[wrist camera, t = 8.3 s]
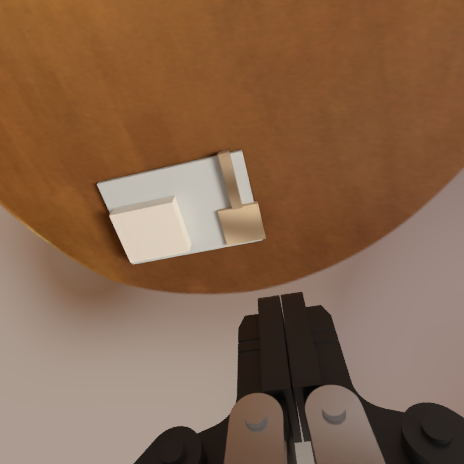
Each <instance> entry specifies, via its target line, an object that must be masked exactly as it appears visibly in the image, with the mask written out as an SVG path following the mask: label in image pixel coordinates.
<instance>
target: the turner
mask: <svg viewBox="0 0 464 464" xmlns="http://www.w3.org/2000/svg"><path fill="white" fill-rule="evenodd" d="M218 157H219V161H220V165H221V168H222V172H223V176H224V180H225V184H226V187H227V191H228V195H229V199H230V202H231V206H232V207H228V208H223V209H218V215H219V218H220V222H221V225H222V229H223V232H224V236H225V239H226V242H227V246H229V245H234V244H239V243H245V242H250V241H255V240H261V239H266V238H265V232H264V228H263V223H262V219H261V215H260V210H259V206H258V201H257V202H252V203H247V204H242V201H241V197H240V193H239V189H238V185H237V181H236V177H235V173H234V169H233V165H232V161H231V157H230V153H229V150H225V151H220V152H218Z"/></svg>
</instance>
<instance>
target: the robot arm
mask: <svg viewBox="0 0 464 464" xmlns="http://www.w3.org/2000/svg"><path fill="white" fill-rule="evenodd" d="M281 299H282V307H283V313H282V307H281V302H280V297H279V295H278V296H272V297H264V298H258V311H259V314H255V315H248V316H245V317H244V319H243V320H242V323H241V324H240V326H239V331H238V333H239V334H238V342H239V344H238V379H237V380H238V381H237V400H236V404H235V405H234V407H233V408H232V410H231V413H230V414H229V415H228V417H227V418H226V419H224V420H223V421H222V422H221V423H219V424H217V425H216V426H213V427H211V428H209V429H207V430H204V431H202V432H200V433H198V434H197V433H196V432H195V431H193V430H192V429H191V428H188V427H184V426H177V427H173V428H170V429H168V430H166V431H165V432H163V433H162V434H160V435H159V436H158V437H157V438H156V439H155V440H154V442H153V443H152V444H151V445H150V446H149V447H148V448H147V449H146V451H145V452H144V453H143V454H142V455H141V456H140V457H139V458H138V459H137V461H136V462H135V463H134V464H297V461H296V453H295V445H294V443H297V442H302V439H301V432H300V425H299V418H298V412H299V417H300V422H301V427H302V432H303V437H304V442H305V441H311V446H312V451H313V456H314V462H315V464H464V418H463V417H462V416H460V415H458V414H457V413H455V412H454V411H452V410H450V409H448V408H447V407H444V406H442V405H439V404H435V403H419V404H415V405H413V406H411V407H409V408H408V409H407V410H406V412H400V411H394V410H389V409H385V408H381V407H378V406H375V405H373V404H371V403H369V402H367V401H366V400H364V399H363V398H362V397H361V396H360V395H359V394H358V393H357V392H356V390H355V389H354V387H353V385H352V382H351V379H350V376H349V373H348V369H347V366H346V363H345V360H344V357H343V353H342V350H341V346H340V343H339V341H338V337H337V334H336V331H335V327H334V324H333V320H332V317H331V315H330V314H329V313H328V312H327V311H326V310H325V309H324V308H323V307H322V306H321V305H318V306H311V307H306V306H305V302H304V298H303V294H302V292H298V293H291V294H284V295H281ZM283 314H284V318H283ZM284 322H285V323H284ZM296 402H297V403H296ZM297 407H298V411H297Z"/></svg>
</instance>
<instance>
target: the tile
mask: <svg viewBox="0 0 464 464" xmlns="http://www.w3.org/2000/svg"><path fill="white" fill-rule="evenodd" d="M109 217H110V219H111V221H112V223H113V226H114V228H115V230H116V232H117V234H118V237H119V239H120V241H121V243H122V245H123V248H124V250H125V252H126V254H127V256H128V259H129V261H130V263H133V262H139V261H144V260H149V259H155V258H160V257H165V256H170V255H176V254H181V253H186V252H190V248H191V244H192V243H191V240H190V238H189V235H188V232H187V229H186V226H185V223H184V220H183V217H182V214H181V211H180V208H179V206H178V203H177V200H176V197H175V196H171V197H166V198H161V199H157V200H152V201H147V202H143V203H138V204H133V205H129V206H124V207H119V208H115V209H114V210H113V211H112V212H111V214H110V215H109Z"/></svg>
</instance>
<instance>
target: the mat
mask: <svg viewBox="0 0 464 464" xmlns="http://www.w3.org/2000/svg"><path fill="white" fill-rule="evenodd" d="M229 153H230V157H231V161H232V165H233V169H234V173H235V177H236V181H237V185H238V189H239V193H240V197H241V201H242V204H247V203H252V202H254V201H253V196H252V192H251V188H250V183H249V179H248V175H247V170H246V166H245V162H244V157H243V153H242V150H238V151H234V152H229ZM97 186H98V188H99V190H100V192H101V195H102V197H103V199H104V201H105V204H106V206H107V208H108V210H109V212H110V214H111V212H112V211H113V210H114V209H115V208H119V207H124V206H129V205H133V204H138V203H143V202H147V201H152V200H157V199H161V198H166V197H171V196H175V197H176V200H177V203H178V206H179V208H180V211H181V214H182V217H183V220H184V223H185V226H186V229H187V232H188V235H189V238H190V240H191V243H192V244H191V248H190V252H186V253H181V254H176V255H170V256H165V257H160V258H155V259H149V260H144V261H139V262H133V264H138V263H143V262H149V261H154V260H159V259H165V258H170V257H175V256H181V255H186V254H191V253H197V252H202V251H207V250H213V249H218V248H223V247H229V246H234V245H239V244H245V243H250V242H255V241H261V240H262V239H261V240H255V241H250V242H245V243H239V244H234V245H229V246H227V242H226V239H225V236H224V232H223V229H222V225H221V222H220V218H219V215H218V209H223V208H228V207H232V206H231V202H230V199H229V195H228V191H227V187H226V184H225V180H224V176H223V172H222V168H221V165H220V161H219V157H218V155H216V156H212V157H207V158H203V159H198V160H194V161H190V162H185V163H181V164H177V165H172V166H168V167H163V168H159V169H155V170H150V171H146V172H141V173H137V174H133V175H128V176H124V177H119V178H115V179H111V180H106V181H102V182H98V183H97Z"/></svg>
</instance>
